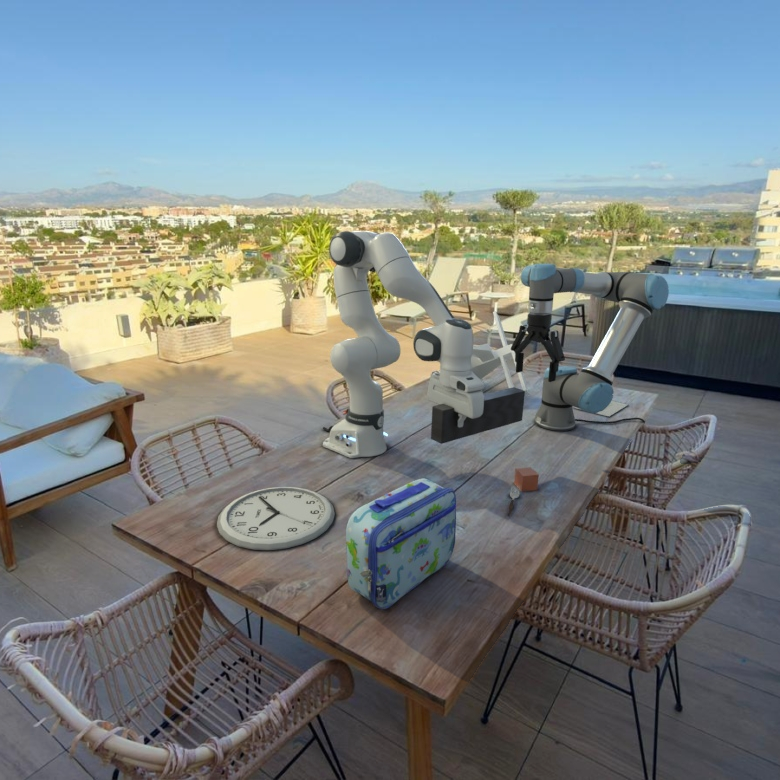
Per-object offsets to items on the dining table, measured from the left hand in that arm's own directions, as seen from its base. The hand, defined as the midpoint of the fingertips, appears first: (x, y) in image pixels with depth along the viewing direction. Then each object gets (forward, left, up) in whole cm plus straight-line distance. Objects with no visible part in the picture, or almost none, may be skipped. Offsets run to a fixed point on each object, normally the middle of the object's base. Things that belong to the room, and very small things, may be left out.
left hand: (452, 423), depth 151 cm
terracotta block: (+20, +10, -19) cm, 29 cm away
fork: (+20, -2, -19) cm, 28 cm away
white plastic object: (-26, +90, -19) cm, 95 cm away
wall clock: (-30, -42, -19) cm, 55 cm away
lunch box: (+11, -47, -19) cm, 52 cm away
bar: (+4, +10, -4) cm, 12 cm away
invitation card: (+26, +100, -19) cm, 105 cm away
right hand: (+12, +38, +7) cm, 41 cm away
